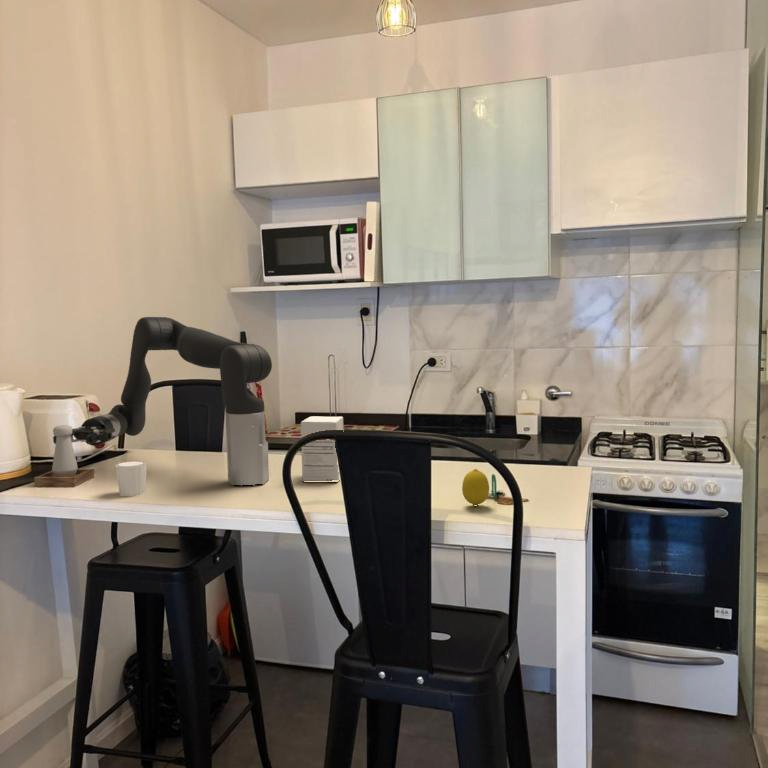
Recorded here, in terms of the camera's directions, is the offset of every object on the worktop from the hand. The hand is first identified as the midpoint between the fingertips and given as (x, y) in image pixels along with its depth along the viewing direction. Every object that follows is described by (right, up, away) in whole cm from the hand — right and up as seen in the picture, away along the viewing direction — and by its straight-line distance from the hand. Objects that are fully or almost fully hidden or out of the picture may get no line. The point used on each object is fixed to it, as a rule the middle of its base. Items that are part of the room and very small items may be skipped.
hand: (71, 440), depth 184 cm
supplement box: (+64, -9, -5) cm, 65 cm away
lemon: (+98, -11, -33) cm, 104 cm away
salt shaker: (0, -9, -4) cm, 10 cm away
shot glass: (+21, -11, -16) cm, 29 cm away
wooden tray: (0, -10, -4) cm, 11 cm away
